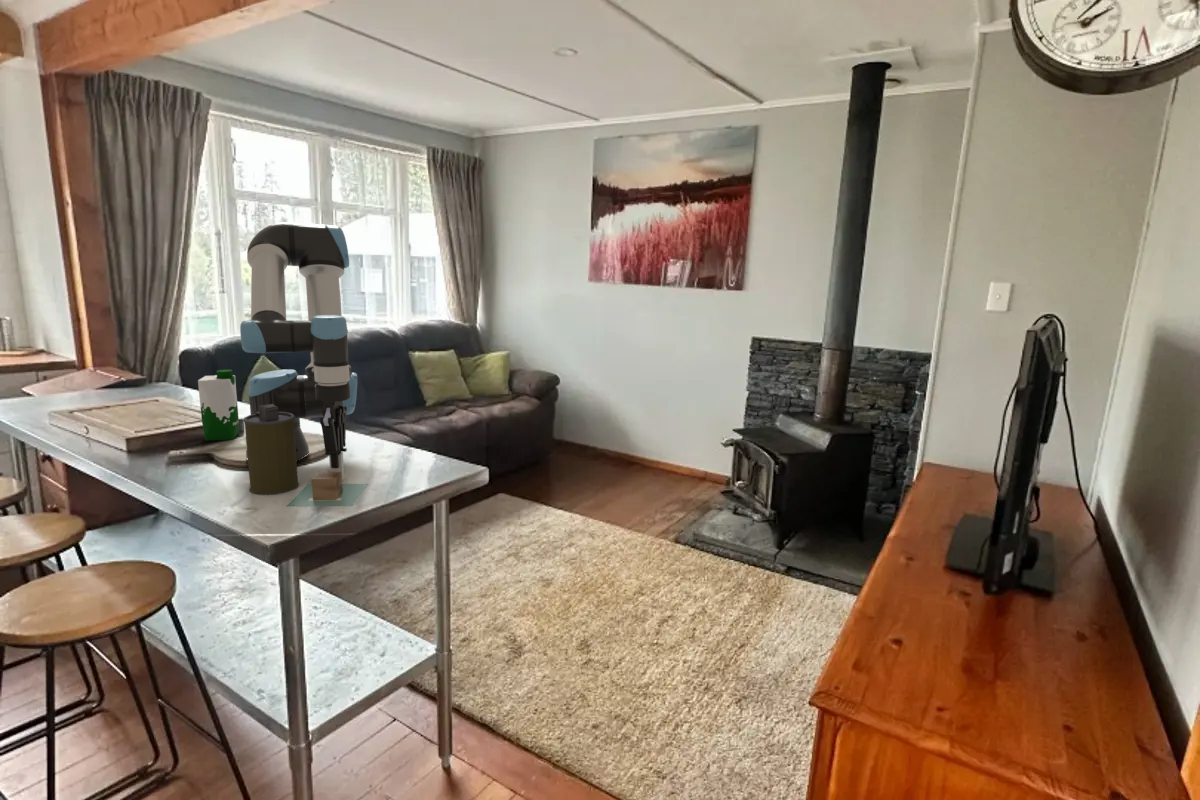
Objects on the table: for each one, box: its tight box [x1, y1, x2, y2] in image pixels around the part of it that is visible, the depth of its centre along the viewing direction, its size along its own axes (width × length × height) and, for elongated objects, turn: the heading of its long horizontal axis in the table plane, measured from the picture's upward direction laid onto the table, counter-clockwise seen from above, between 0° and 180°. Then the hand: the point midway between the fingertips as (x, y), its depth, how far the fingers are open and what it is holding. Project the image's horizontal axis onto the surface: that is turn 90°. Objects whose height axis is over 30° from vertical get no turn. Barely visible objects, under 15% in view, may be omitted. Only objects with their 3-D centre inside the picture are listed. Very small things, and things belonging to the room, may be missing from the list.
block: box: [311, 471, 343, 500], centre depth 142 cm, size 5×5×5 cm
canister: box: [242, 404, 300, 496], centre depth 145 cm, size 11×10×20 cm
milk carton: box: [197, 368, 240, 442], centre depth 183 cm, size 9×9×20 cm
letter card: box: [286, 483, 369, 507], centre depth 144 cm, size 14×14×1 cm
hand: (337, 479), depth 150 cm, fingers closed
